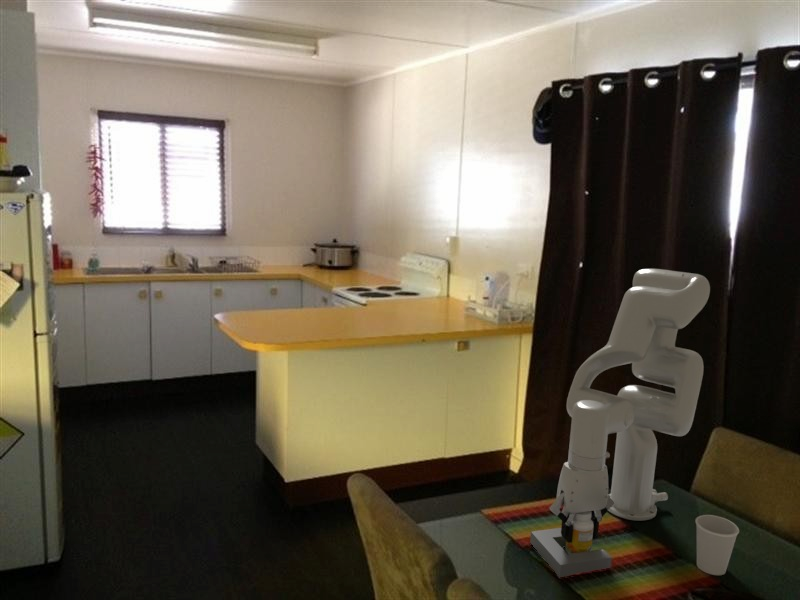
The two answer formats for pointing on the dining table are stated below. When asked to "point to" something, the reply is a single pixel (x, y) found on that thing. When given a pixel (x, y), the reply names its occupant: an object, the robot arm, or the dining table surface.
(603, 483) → the robot arm
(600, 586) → the dining table surface
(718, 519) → the dixie cup
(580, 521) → the supplement bottle
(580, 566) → the side entry holder
